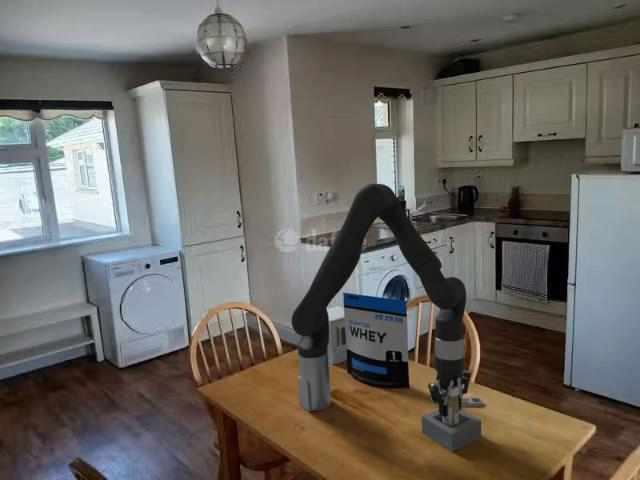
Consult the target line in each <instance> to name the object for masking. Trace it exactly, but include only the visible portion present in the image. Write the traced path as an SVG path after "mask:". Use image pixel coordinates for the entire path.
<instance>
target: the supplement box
mask: <svg viewBox="0 0 640 480" xmlns="http://www.w3.org/2000/svg"><path fill="white" fill-rule="evenodd" d="M326 309H327V312H328V317H329V343H328V364H331V365H332V366H334V365H336V364H339V363H342V362H345V361H346V362H347V347H346V333H345V319H344V307H342V306H339V305H337V306H334V307H330V308H326Z"/></svg>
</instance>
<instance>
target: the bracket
mask: <svg viewBox="0 0 640 480" xmlns="http://www.w3.org/2000/svg"><path fill="white" fill-rule="evenodd" d="M430 401H431V402H432V403H435V402H434V401H432V397H431V394H430ZM461 402H462V406H461V408H463V407H464V408H467V407H468V408H469V407H473V408H475V407H479V408H480V407H482V406H483V399H482V398H480V397H475V396H472V397H462V398H461Z"/></svg>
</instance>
